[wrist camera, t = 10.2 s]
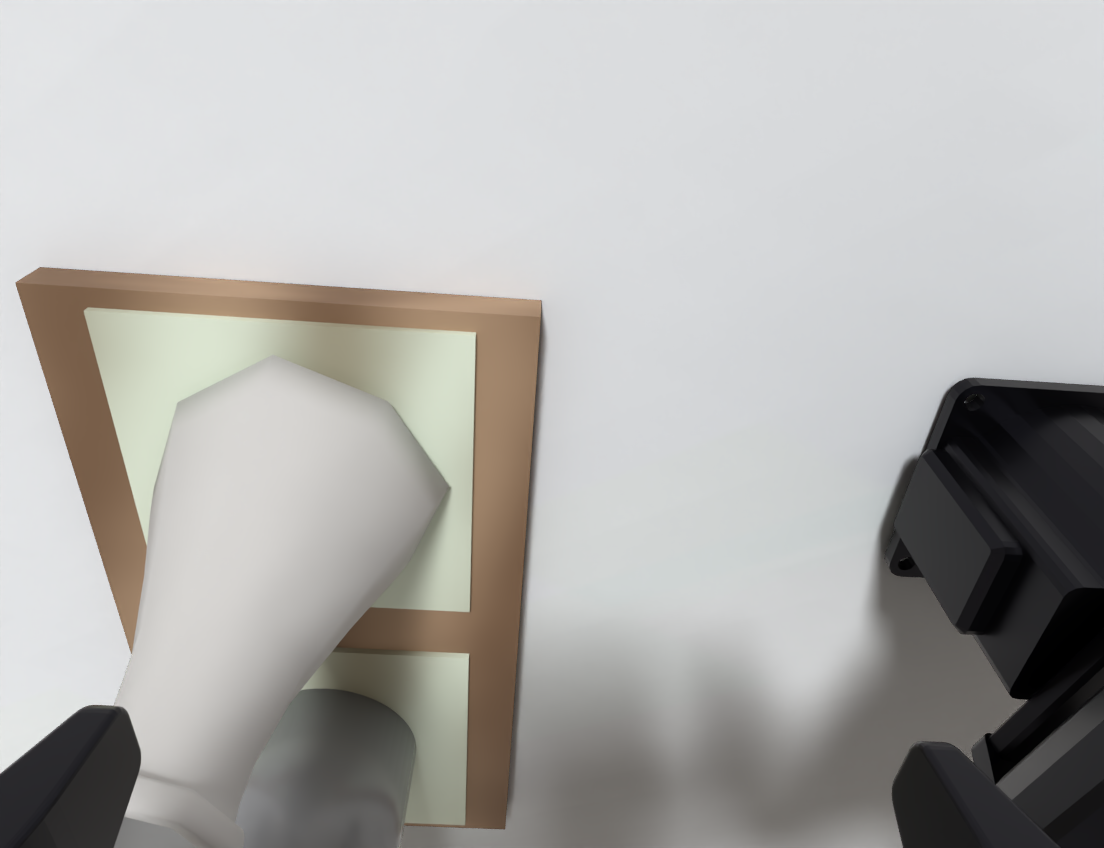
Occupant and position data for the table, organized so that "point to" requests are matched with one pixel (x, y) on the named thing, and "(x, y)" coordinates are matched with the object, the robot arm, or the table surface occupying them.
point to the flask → (257, 579)
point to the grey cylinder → (330, 776)
